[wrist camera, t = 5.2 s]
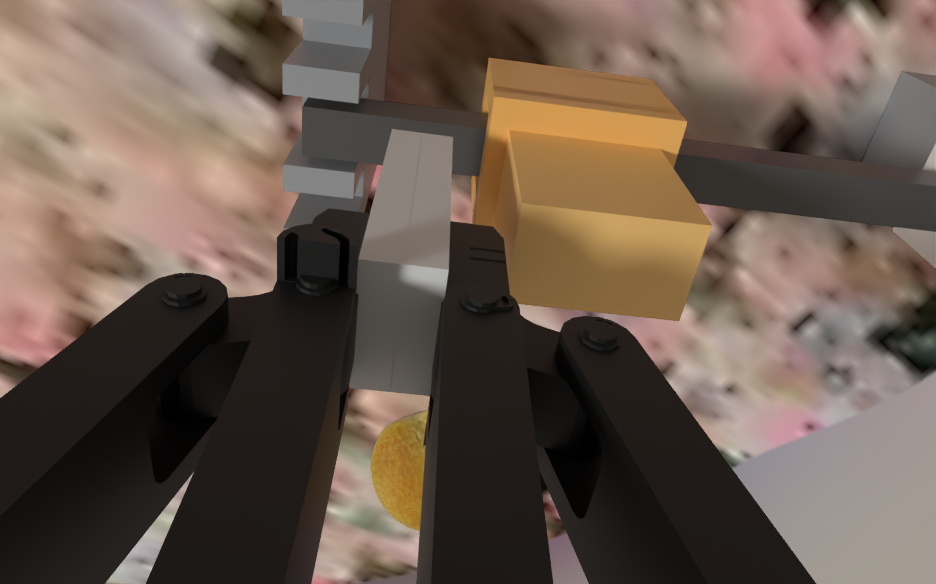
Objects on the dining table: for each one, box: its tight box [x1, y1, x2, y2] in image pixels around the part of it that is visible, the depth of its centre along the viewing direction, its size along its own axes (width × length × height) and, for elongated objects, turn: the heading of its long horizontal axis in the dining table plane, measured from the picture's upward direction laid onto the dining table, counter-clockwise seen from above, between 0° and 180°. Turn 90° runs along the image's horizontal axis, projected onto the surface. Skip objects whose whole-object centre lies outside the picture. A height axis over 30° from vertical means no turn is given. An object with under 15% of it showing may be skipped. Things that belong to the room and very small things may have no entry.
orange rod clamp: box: [471, 58, 712, 321], centre depth 19 cm, size 5×4×8 cm
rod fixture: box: [282, 0, 936, 268], centre depth 24 cm, size 25×8×12 cm, turn 82°
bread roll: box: [371, 410, 428, 531], centre depth 38 cm, size 8×9×4 cm
